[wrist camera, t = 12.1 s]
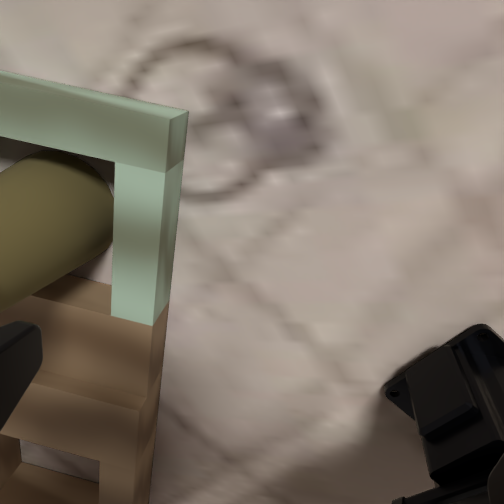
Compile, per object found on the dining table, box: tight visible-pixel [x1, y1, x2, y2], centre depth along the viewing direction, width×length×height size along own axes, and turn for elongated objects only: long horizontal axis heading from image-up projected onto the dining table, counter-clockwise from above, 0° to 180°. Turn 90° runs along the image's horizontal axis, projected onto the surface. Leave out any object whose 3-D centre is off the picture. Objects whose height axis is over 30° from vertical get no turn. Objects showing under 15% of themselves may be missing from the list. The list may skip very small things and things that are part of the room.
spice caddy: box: [0, 71, 189, 504], centre depth 25 cm, size 30×12×4 cm, turn 170°
